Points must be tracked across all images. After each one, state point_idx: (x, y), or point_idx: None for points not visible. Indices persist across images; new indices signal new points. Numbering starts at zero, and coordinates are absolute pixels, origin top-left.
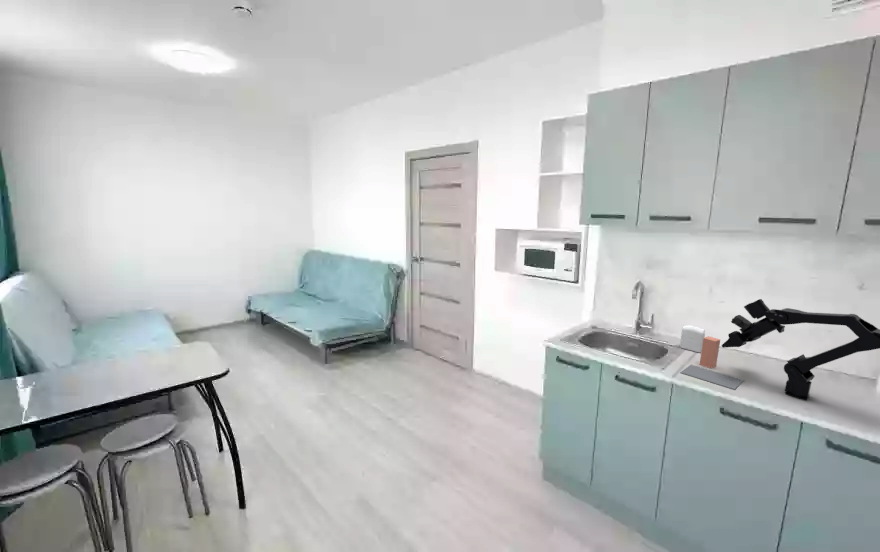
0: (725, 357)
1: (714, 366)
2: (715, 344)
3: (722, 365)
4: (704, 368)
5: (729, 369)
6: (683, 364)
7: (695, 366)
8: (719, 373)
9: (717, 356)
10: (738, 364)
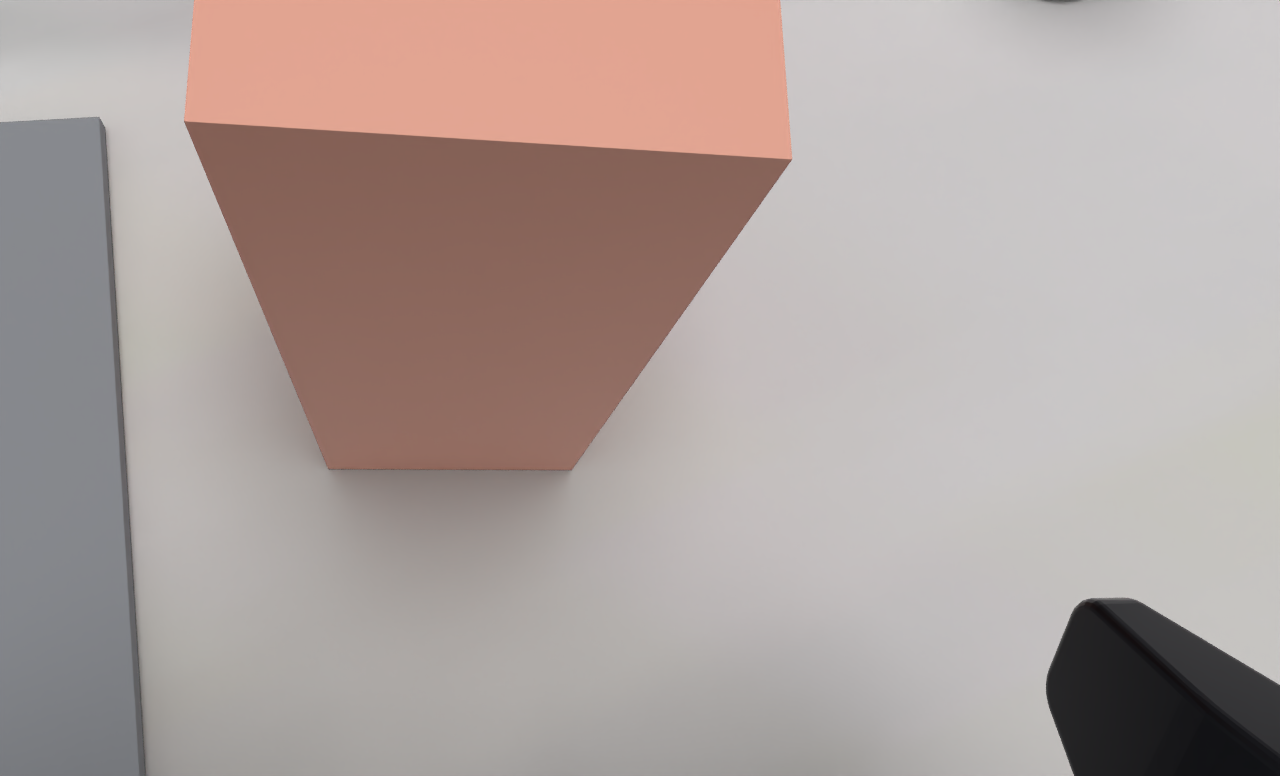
0: (1248, 358)
1: (483, 467)
2: (265, 214)
3: (757, 524)
4: (104, 397)
5: (657, 727)
6: (6, 14)
7: (47, 224)
8: (78, 756)
9: (602, 408)
10: None
